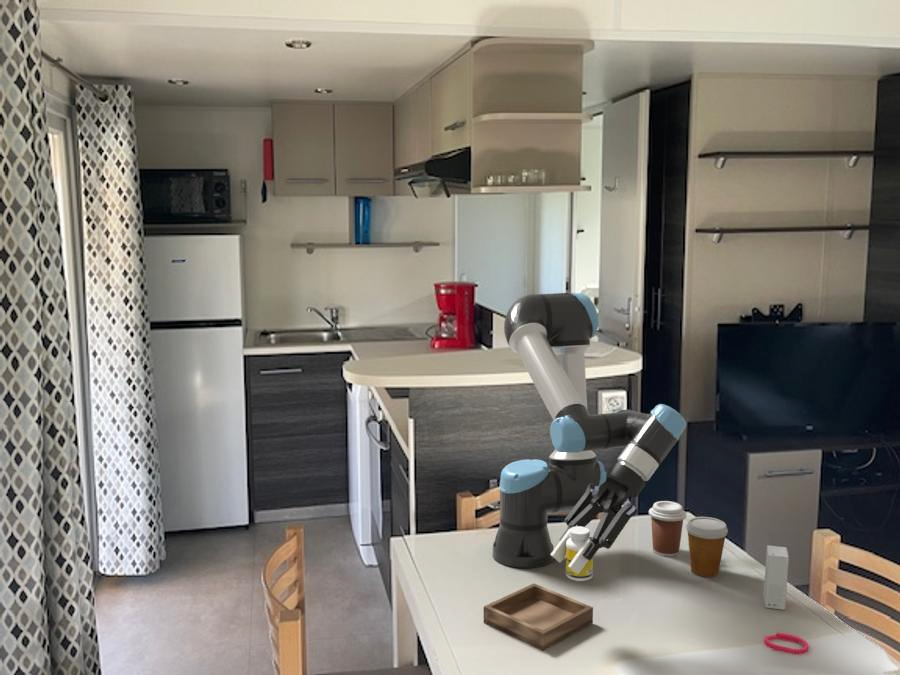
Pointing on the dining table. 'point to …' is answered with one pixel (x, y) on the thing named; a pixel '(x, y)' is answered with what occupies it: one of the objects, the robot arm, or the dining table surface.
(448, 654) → the dining table surface
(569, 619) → the walnut tray
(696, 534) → the disposable coffee cup
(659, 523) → the coffee cup
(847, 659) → the dining table surface
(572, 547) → the supplement bottle
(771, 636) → the fitness band
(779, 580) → the skincare box
